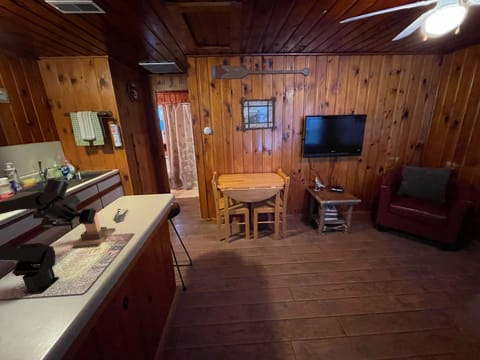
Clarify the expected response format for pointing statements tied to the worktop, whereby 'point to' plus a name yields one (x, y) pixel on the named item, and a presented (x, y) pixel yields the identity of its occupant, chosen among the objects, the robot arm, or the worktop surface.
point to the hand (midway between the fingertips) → (83, 223)
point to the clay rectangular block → (93, 226)
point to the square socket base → (94, 238)
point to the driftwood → (119, 216)
